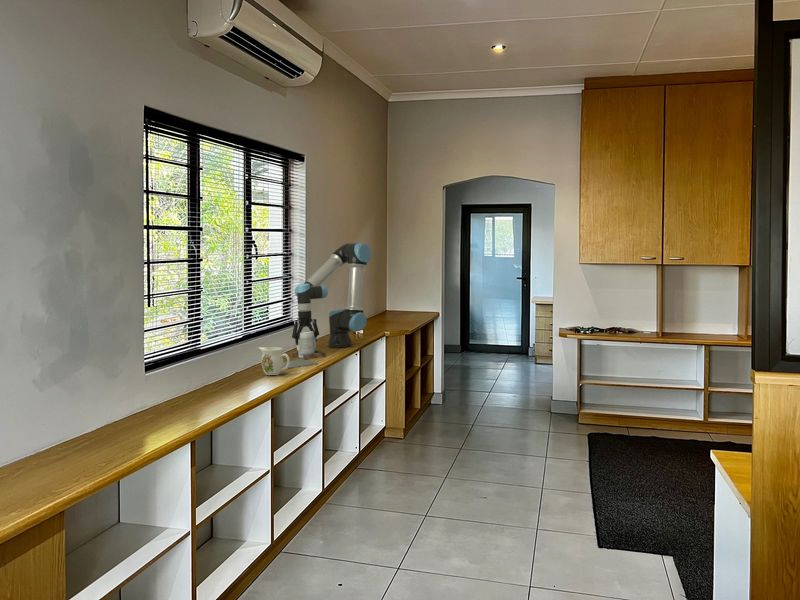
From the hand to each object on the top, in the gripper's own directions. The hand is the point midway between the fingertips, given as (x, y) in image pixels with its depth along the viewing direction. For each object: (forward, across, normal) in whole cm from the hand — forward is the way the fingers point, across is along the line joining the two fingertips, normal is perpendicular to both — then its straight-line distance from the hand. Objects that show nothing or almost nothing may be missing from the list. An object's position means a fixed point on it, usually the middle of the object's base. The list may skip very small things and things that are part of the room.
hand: (306, 349), depth 399 cm
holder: (+5, 0, 0) cm, 5 cm away
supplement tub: (+5, 0, 0) cm, 5 cm away
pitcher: (+5, +38, +34) cm, 51 cm away
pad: (+5, +16, +16) cm, 23 cm away
